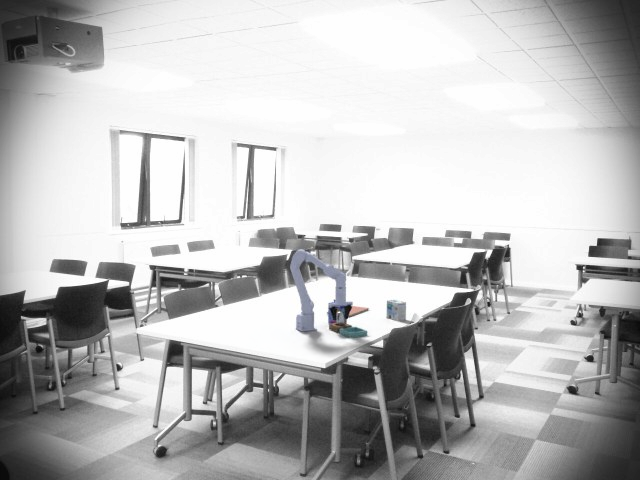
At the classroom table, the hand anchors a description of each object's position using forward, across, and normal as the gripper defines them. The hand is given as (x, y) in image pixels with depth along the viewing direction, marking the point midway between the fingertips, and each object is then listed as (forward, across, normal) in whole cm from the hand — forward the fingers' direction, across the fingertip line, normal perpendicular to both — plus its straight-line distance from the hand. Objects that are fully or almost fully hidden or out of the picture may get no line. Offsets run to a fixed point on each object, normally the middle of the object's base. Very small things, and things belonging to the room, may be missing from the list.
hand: (340, 319), depth 308 cm
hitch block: (+6, 0, 0) cm, 6 cm away
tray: (+6, +1, -11) cm, 13 cm away
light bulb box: (+6, +45, +9) cm, 46 cm away
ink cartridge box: (+6, +6, +13) cm, 16 cm away
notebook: (+7, +30, +40) cm, 50 cm away
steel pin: (+6, 0, 0) cm, 6 cm away
